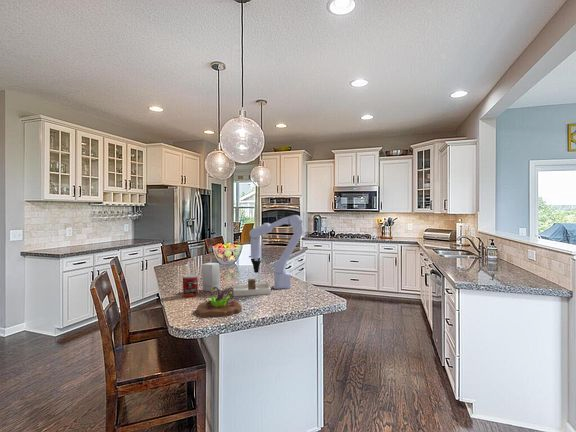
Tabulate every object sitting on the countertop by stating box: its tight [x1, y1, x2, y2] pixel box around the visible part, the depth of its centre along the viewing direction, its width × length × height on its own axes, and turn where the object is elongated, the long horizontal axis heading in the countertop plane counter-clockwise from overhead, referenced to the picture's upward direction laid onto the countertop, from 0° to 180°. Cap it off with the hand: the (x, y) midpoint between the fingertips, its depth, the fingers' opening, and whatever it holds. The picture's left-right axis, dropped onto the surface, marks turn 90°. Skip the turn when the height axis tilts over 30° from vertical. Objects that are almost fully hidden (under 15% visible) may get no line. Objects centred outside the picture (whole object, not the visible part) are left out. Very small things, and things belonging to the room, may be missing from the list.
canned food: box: [182, 273, 199, 299], centre depth 169 cm, size 8×8×11 cm
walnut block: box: [247, 278, 256, 290], centre depth 175 cm, size 4×4×6 cm
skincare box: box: [201, 262, 221, 293], centre depth 180 cm, size 8×7×16 cm
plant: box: [196, 287, 242, 318], centre depth 143 cm, size 20×20×11 cm
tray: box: [232, 282, 272, 297], centre depth 175 cm, size 20×14×3 cm
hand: (256, 271), depth 186 cm, fingers open, 7 cm apart
